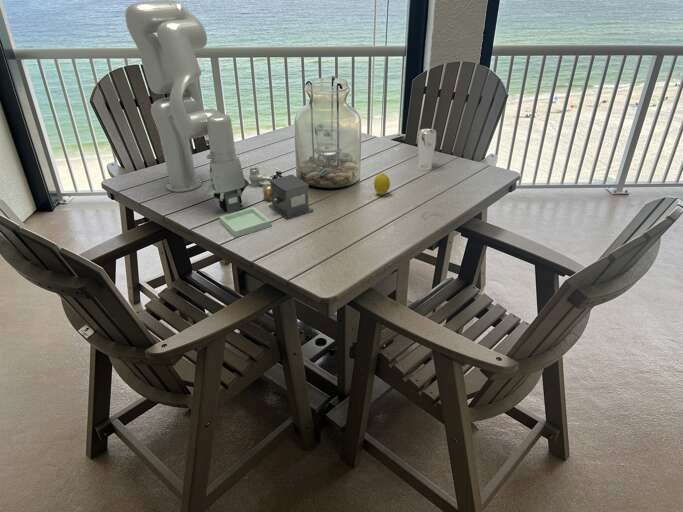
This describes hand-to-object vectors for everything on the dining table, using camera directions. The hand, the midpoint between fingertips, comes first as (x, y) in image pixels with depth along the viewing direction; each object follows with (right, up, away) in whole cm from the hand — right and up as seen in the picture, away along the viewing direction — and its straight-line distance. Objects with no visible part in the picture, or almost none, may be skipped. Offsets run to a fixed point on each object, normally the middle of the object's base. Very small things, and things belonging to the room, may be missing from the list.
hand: (231, 207), depth 151 cm
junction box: (+20, -1, 0) cm, 20 cm away
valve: (+9, +9, +17) cm, 21 cm away
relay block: (0, -1, 0) cm, 1 cm away
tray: (+7, -6, -9) cm, 13 cm away
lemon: (+51, +5, +10) cm, 52 cm away
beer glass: (+71, +19, +32) cm, 80 cm away
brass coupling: (+12, +3, +7) cm, 14 cm away
